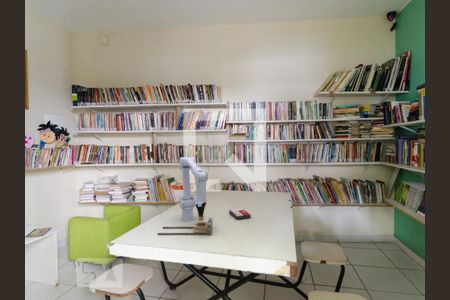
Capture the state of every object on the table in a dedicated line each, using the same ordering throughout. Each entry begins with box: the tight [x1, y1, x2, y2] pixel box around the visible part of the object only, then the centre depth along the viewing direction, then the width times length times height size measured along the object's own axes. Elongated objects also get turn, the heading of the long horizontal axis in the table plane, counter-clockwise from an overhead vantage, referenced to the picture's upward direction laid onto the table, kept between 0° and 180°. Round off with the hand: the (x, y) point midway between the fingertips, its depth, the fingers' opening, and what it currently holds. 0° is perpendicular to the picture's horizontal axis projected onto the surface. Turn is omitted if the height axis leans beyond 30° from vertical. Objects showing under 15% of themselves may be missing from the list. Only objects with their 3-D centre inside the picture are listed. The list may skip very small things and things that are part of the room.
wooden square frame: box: [192, 221, 208, 233], centre depth 121 cm, size 8×8×4 cm
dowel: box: [197, 211, 205, 222], centre depth 121 cm, size 3×3×8 cm
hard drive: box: [228, 207, 252, 221], centre depth 152 cm, size 11×4×15 cm
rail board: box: [157, 217, 213, 237], centre depth 121 cm, size 12×30×7 cm, turn 90°
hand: (201, 215), depth 121 cm, fingers closed on dowel, 3 cm apart
